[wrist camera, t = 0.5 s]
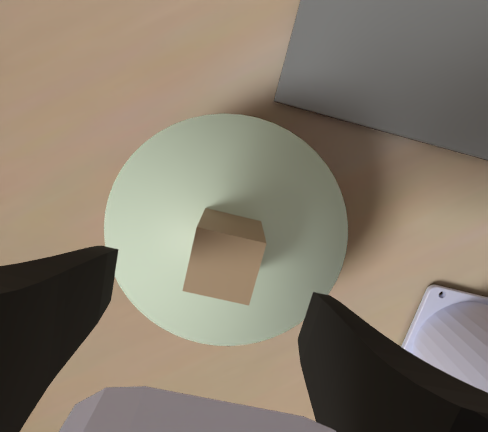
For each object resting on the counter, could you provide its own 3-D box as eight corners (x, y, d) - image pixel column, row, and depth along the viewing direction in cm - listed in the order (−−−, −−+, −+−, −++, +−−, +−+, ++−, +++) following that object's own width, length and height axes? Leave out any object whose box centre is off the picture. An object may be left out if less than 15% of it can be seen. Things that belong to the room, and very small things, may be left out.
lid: (376, 150, 17) (422, 155, 13) (304, 356, 20) (322, 415, 16) (129, 84, 16) (90, 67, 12) (95, 312, 19) (54, 363, 15)
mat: (623, -83, 17) (632, -88, 17) (508, 166, 21) (514, 166, 20) (348, -180, 16) (350, -188, 16) (273, 101, 20) (274, 100, 19)
